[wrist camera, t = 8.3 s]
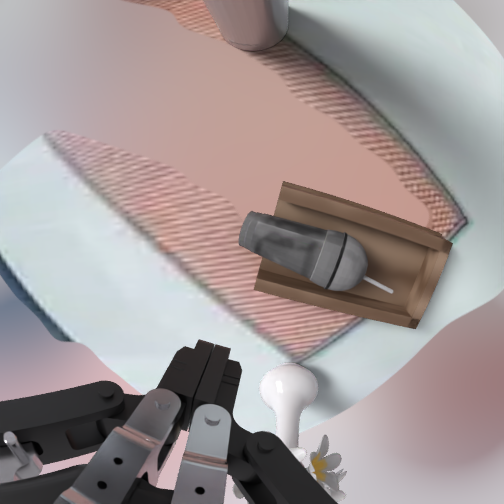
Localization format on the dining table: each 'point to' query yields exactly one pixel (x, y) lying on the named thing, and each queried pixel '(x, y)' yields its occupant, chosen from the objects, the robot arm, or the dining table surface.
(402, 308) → the u rest
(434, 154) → the dining table surface
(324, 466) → the flower vase
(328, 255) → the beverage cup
